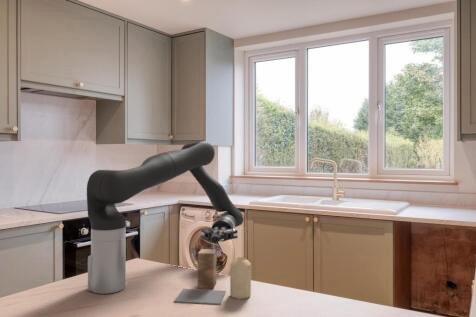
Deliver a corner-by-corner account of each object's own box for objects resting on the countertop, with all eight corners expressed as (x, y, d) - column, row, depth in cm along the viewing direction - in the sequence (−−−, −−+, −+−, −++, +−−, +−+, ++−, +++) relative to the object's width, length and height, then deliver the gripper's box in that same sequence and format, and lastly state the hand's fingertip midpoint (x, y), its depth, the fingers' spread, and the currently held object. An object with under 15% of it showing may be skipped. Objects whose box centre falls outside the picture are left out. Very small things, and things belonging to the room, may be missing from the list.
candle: (248, 299, 100) (249, 261, 100) (228, 298, 102) (228, 260, 101) (252, 292, 106) (252, 256, 106) (232, 290, 107) (232, 255, 107)
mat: (174, 302, 99) (174, 300, 99) (183, 289, 108) (183, 288, 108) (220, 304, 97) (220, 303, 97) (225, 291, 106) (225, 290, 106)
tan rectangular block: (197, 288, 109) (198, 253, 109) (201, 282, 113) (201, 248, 113) (213, 289, 108) (213, 253, 108) (216, 283, 113) (216, 249, 113)
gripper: (205, 217, 140) (194, 227, 122) (241, 218, 138) (235, 228, 121) (205, 238, 140) (194, 251, 123) (241, 239, 138) (235, 252, 121)
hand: (214, 239), depth 122 cm, fingers closed
